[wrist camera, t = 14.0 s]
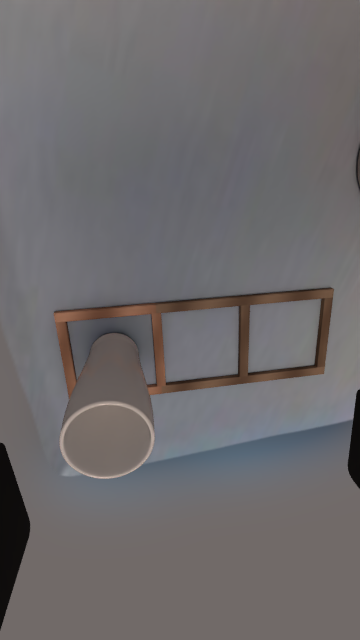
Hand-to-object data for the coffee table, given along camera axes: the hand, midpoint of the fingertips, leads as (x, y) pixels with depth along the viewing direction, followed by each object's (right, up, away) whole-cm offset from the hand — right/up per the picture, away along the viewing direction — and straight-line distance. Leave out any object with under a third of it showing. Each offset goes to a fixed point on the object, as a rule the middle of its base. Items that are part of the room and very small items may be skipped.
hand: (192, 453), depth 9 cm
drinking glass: (-8, 0, +29) cm, 30 cm away
